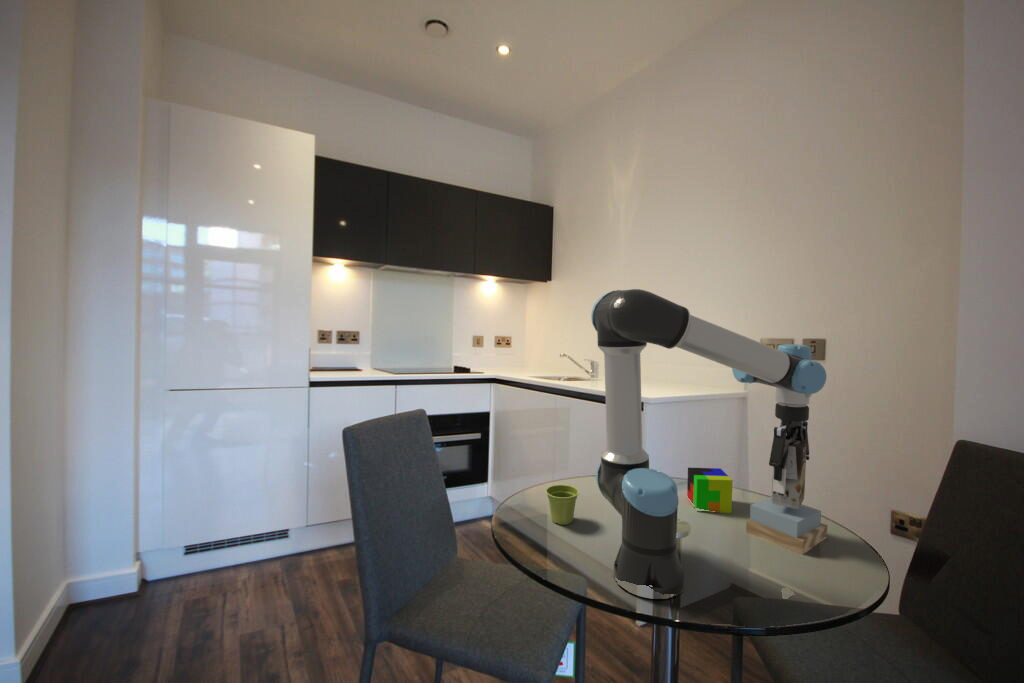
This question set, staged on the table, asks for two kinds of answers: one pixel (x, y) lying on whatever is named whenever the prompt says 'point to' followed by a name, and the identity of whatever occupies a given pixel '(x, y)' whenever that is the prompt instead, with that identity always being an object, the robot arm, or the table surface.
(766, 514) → the slate-blue top slab
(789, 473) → the coffee box
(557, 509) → the plant pot
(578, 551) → the table surface
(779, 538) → the oak base slab
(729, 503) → the puzzle toy
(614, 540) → the table surface
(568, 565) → the table surface
